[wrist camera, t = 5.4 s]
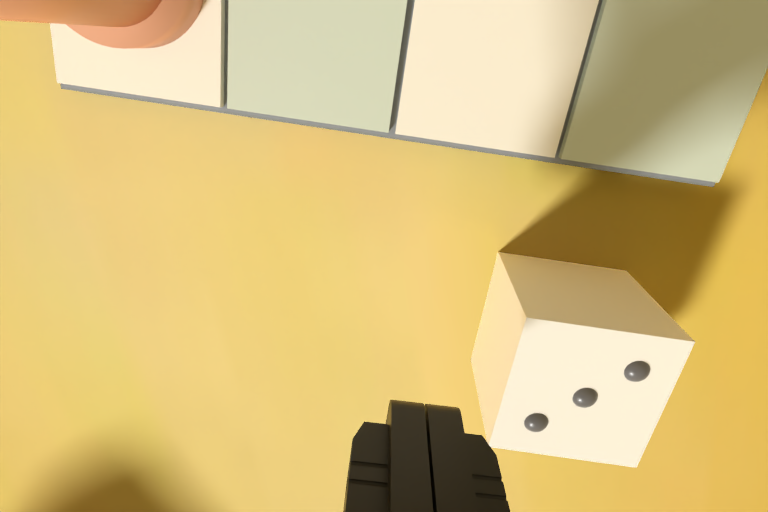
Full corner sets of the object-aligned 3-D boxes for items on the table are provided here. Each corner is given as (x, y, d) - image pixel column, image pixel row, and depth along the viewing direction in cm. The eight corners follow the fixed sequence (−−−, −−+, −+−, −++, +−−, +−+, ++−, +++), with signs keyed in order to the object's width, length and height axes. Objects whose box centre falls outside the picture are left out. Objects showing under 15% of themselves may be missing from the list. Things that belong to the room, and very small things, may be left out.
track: (73, 86, 15) (54, 89, 14) (42, -200, 12) (17, -218, 12) (702, 182, 16) (719, 189, 15) (809, -78, 13) (836, -86, 12)
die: (470, 358, 19) (489, 451, 14) (497, 251, 17) (528, 321, 13) (586, 374, 19) (639, 472, 15) (625, 269, 17) (699, 346, 13)
